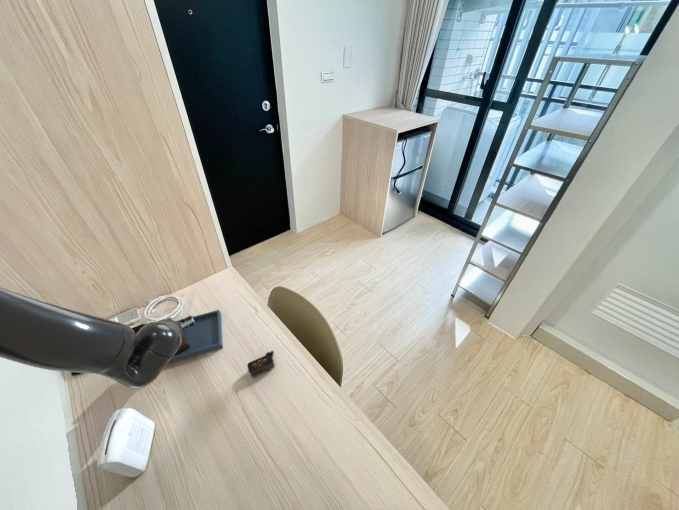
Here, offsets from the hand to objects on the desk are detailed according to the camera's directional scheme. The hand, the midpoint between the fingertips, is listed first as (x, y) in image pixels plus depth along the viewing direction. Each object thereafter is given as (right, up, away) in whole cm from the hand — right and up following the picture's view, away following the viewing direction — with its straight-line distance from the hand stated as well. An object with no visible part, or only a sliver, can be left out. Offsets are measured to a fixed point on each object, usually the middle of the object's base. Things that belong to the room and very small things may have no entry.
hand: (171, 328), depth 76 cm
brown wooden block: (+1, -4, +2) cm, 4 cm away
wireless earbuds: (+27, -9, -2) cm, 29 cm away
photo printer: (+4, -22, -16) cm, 28 cm away
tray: (+4, -4, +3) cm, 6 cm away
